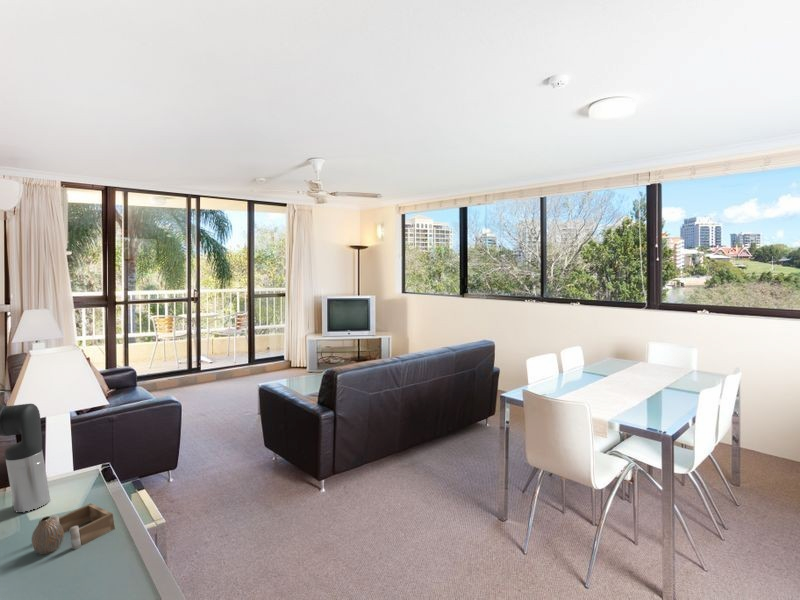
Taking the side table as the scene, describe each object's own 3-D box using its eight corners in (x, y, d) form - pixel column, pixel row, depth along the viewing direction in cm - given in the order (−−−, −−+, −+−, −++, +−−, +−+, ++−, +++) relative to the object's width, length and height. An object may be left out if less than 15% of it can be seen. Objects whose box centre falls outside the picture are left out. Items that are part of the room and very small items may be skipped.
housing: (51, 536, 132) (48, 517, 131) (91, 517, 141) (89, 499, 140) (74, 550, 124) (71, 530, 124) (115, 529, 133) (113, 510, 132)
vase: (48, 558, 121) (43, 526, 121) (27, 557, 123) (21, 525, 122) (72, 542, 128) (67, 512, 127) (51, 540, 130) (46, 510, 129)
